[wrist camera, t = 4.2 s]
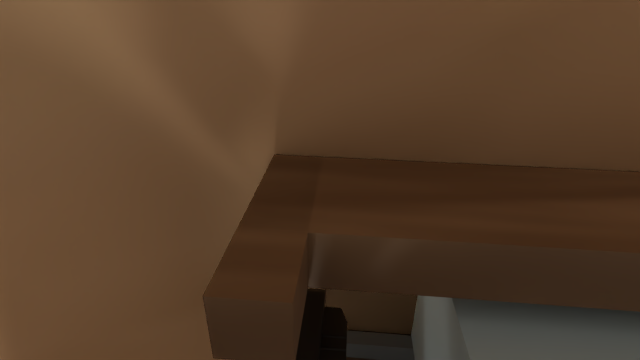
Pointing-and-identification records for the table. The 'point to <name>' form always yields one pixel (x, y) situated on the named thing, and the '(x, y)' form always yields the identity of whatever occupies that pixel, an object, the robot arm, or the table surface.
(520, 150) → the table surface
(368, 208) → the rack
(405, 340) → the pad
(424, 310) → the block
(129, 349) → the table surface
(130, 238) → the table surface
